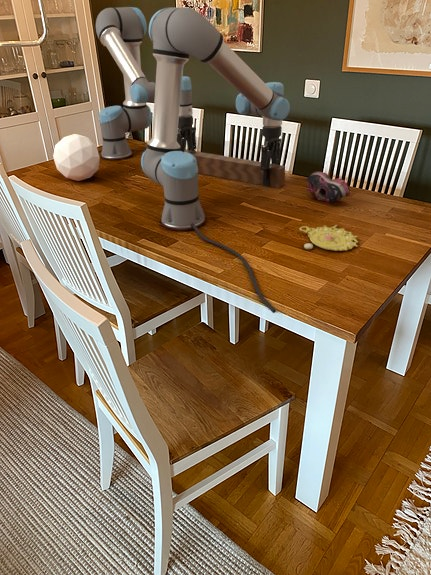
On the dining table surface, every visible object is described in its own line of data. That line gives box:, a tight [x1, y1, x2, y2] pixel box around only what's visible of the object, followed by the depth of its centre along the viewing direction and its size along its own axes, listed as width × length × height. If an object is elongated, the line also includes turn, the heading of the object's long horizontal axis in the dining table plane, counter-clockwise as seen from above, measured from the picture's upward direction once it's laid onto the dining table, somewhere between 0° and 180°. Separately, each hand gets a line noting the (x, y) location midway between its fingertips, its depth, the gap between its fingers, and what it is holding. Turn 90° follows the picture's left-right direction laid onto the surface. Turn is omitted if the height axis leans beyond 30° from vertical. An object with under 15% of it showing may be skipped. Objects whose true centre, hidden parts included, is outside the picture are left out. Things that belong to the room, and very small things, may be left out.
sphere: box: [52, 133, 101, 182], centre depth 194 cm, size 19×20×20 cm
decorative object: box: [299, 224, 359, 252], centre depth 141 cm, size 21×2×20 cm
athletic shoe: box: [304, 171, 351, 203], centre depth 169 cm, size 11×22×12 cm
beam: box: [184, 149, 286, 189], centre depth 195 cm, size 54×5×8 cm, turn 57°
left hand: (187, 167), depth 207 cm, fingers closed on beam, 5 cm apart
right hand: (269, 182), depth 186 cm, fingers closed on beam, 5 cm apart
